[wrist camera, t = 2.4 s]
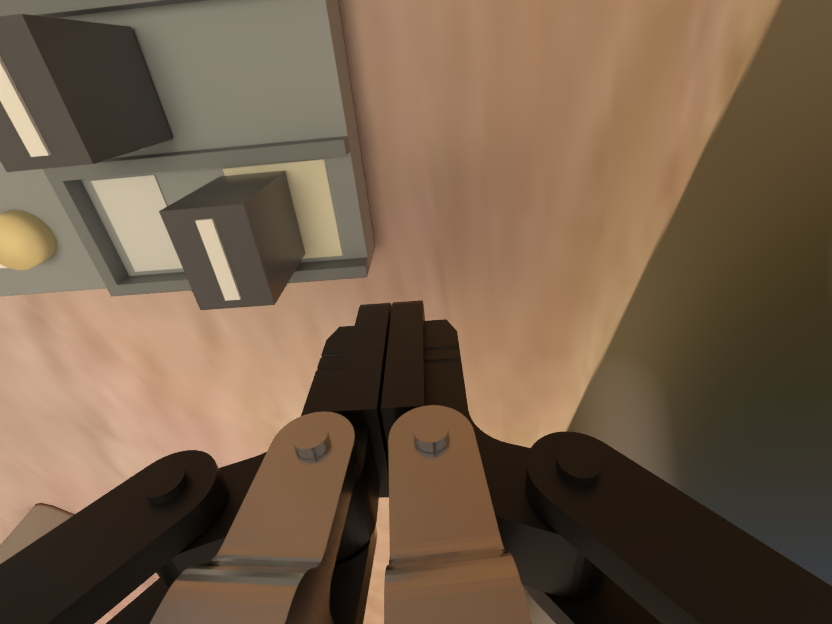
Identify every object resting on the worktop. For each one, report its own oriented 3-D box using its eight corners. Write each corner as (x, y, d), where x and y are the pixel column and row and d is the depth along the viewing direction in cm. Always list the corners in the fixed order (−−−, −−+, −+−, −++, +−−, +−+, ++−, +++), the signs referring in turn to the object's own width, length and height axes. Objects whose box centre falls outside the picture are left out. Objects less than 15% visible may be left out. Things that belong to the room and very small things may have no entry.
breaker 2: (284, 170, 18) (242, 205, 14) (305, 253, 20) (273, 306, 16) (219, 176, 18) (157, 212, 14) (246, 258, 21) (199, 311, 16)
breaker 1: (130, 26, 16) (17, 13, 11) (172, 139, 18) (90, 164, 13) (56, 35, 16) (-85, 25, 11) (105, 145, 18) (3, 173, 14)
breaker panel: (335, -21, 17) (312, -42, 14) (374, 245, 24) (366, 279, 20) (-105, 30, 18) (-231, 23, 15) (44, 271, 25) (-20, 307, 21)
